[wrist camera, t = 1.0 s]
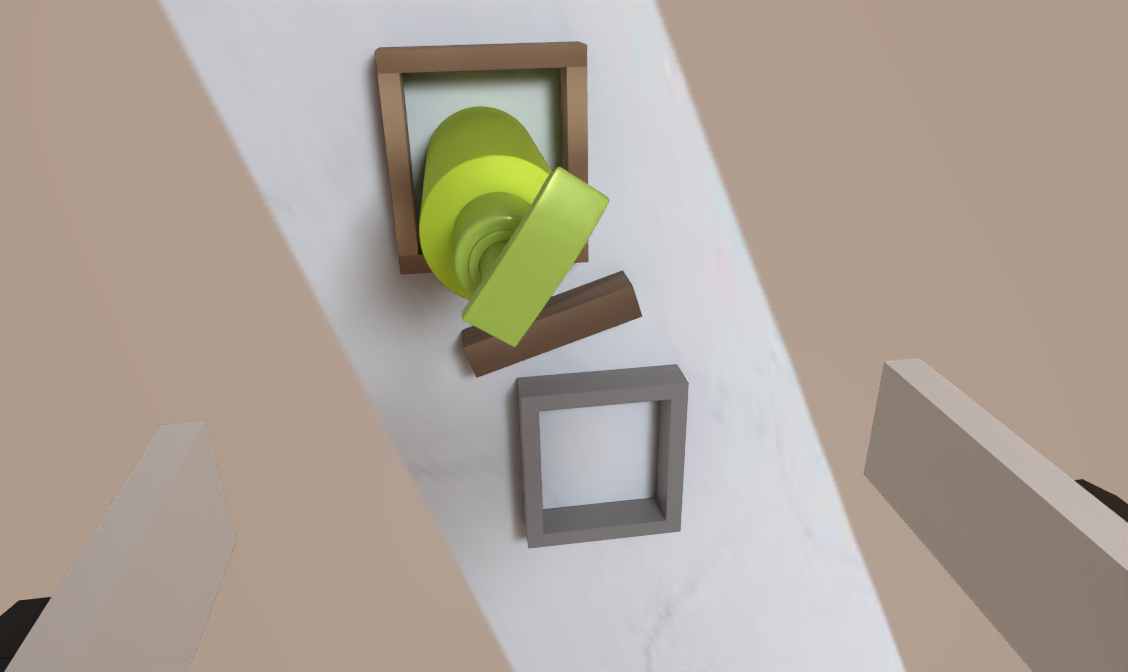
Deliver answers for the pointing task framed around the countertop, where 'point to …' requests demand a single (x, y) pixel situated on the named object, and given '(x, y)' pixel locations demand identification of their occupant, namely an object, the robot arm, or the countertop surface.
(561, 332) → the door edge rail
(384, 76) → the walnut holder
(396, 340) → the countertop surface
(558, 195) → the soap dispenser
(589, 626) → the countertop surface
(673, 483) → the keeper frame
